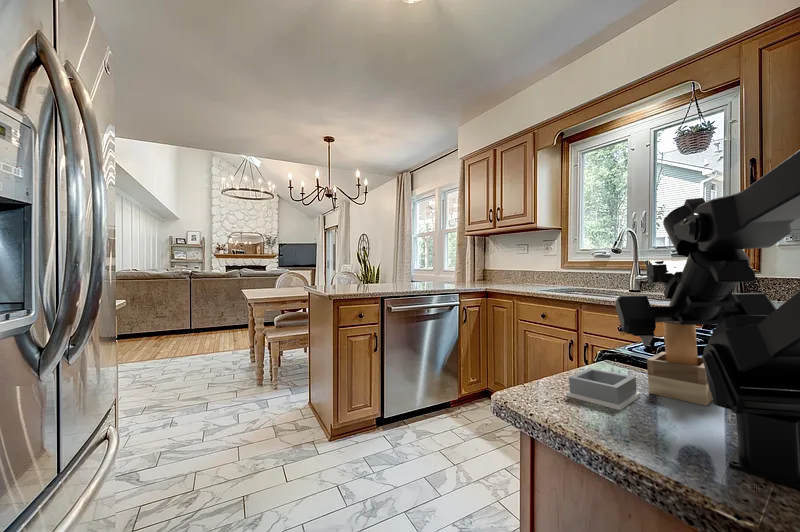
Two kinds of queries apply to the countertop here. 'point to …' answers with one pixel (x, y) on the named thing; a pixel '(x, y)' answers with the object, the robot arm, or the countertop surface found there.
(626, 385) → the grey bin on base
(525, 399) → the countertop surface
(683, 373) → the open tan box
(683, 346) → the bottle
